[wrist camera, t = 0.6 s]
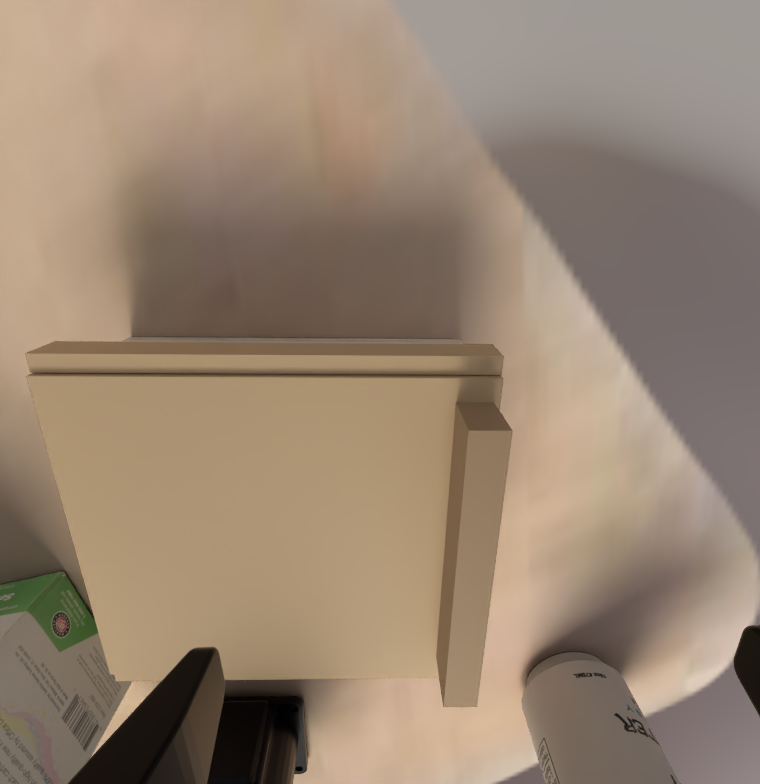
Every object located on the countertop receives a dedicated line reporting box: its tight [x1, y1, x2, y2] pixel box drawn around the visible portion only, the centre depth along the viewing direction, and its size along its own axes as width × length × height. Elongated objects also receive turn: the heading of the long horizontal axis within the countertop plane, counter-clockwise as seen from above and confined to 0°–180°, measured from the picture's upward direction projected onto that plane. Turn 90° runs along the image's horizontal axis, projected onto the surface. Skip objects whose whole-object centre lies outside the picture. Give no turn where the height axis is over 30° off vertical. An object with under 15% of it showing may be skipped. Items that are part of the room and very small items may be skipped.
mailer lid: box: [25, 341, 512, 707], centre depth 16 cm, size 14×14×4 cm
